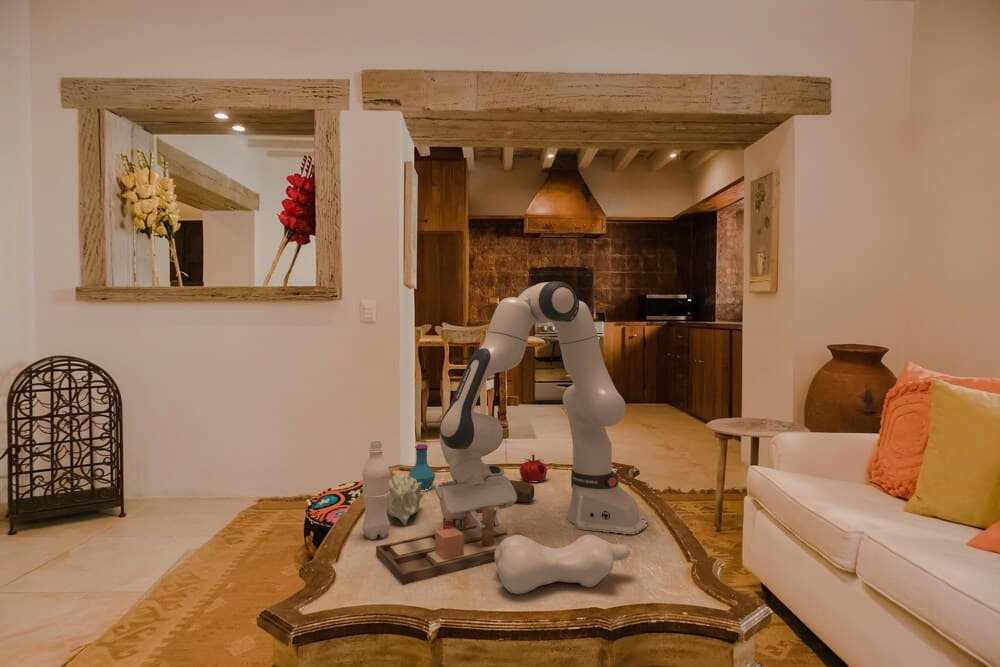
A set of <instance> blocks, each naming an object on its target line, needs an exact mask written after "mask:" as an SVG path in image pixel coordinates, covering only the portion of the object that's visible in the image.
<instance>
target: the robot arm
mask: <svg viewBox="0 0 1000 667" xmlns="http://www.w3.org/2000/svg"><path fill="white" fill-rule="evenodd" d="M548 323H551V324H552V325H553V326H554V328H555V330H556V333H557V338H558V342H559V347H560V351H561V356H562V361H563V362H562V363H563V365H564V369H565V371H566V373H567V374H568V376H569V377H570V379H571V381H572V383H573V384H571V385H570V386H568V387H567V388H566V389H565V391H564V392H563V395H562V403H563V406H564V408H565V411H566V413H567V419H568V423H569V428H570V432H571V439H572V469H571V474H570V475H571V476H570V483H571V484H570V486H571V489H572V490H571V496H570V497H571V499H570V503H569V508H568V512H567V516H566V519H567V520H568V521H569V522H570V523H571V524H573V525H575V527H576V528H577V529H579V530H585V531H593V532H600V531H603V533H609V532H614V533H613V534H617V533H625V534H624V535H626V534H633V533H637V532H639V531H641V530H642V529H643V528H644V527H645V525H646V523H647V524H648V519H647V518H646V516H643V515H640V512H639V506H638V502H637V500H636V499H635V497H633V496H632V495H630V493H628V492H627V491H626V490H624V489H623V488H622V487H621V486H620V485H619V479H620V473H618V474H616V472H614V471H613V466H612V464H613V463H612V462H613V461H612V460H613V459H612V458H613V457H612V456H613V454H612V452H613V450H612V449H613V448H612V447H613V446H612V441H611V440H610V438H609V436H608V432H607V430H606V427H614V426H617V425H618V424H619V423H621V421H622V420H623V419H624V417H625V415H626V410H627V409H626V408H627V407H626V406H627V404H626V401H625V399H624V397H623V396H622V395H621V394H620V392H619V391H618V390H617V388H616V387H615V385H614V382H613V380H612V378H611V376H610V374H609V371H608V369H607V367H606V364H605V361H604V358H603V353H602V350H601V346H600V341H599V337H598V331H597V329H596V324H595V321H594V318H593V316H592V314H591V311H590V307H589V306H588V305H587V304H586V303H585V302H584V301H581V300H579V299H578V298H577V293H576V292H575V291H574V289H573V288H572V287H571V286H570V285H569V284H568V283H565V282H563V281H558V280H557V281H556V280H553V281H548V282H547V281H546V282H540V283H537V284H535V285H531V286H527V287H525V288H523V289H522V290H521V291H520V292H519V293H518V294H517V295H516V297H513V296H510V297H506V298H505V297H504V298H503V299H502V300H500V301H499V302H498V304H497V307H496V308H495V311H494V313H493V315H492V317H491V320H490V323H489V327H488V330H487V333H486V336H485V339H484V341H483V343H482V344H481V346H480V348H479V349H477V350H476V351H474V353H473V354H472V355H471V357H470V359H469V361H468V362H467V365H466V367H465V369H464V371H463V373H462V376H461V379H460V381H459V383H458V385H457V388H456V391H455V393H454V396H453V398H452V400H451V402H450V404H449V406H448V408H447V410H446V411H445V413H444V415H443V416H442V418H441V420H440V423H439V443H440V448H441V451H442V453H443V454H442V455H443V457H444V460H445V462H446V463H447V464H448V467H449V472H450V478H451V477H452V479H453V481H449V482H447V481H446V482H440V483H439V484H438V485H437V486H436V487H435V493H436V497H437V498H438V499H439V505H440V510H441V514H442V518H445V519H447V520H450V519H455V518H460V517H464V516H468V518H469V520H470V523H472V524H473V525H476V527H477V530H478V531H480V530H484V528H485V524H484V521H483V520H482V519H481V520H480V519H479V518H478V516H477V515H479V514H482V508H483V507H485V506H491V507H493V508H494V528H497V527H500V525H501V521H500V518H499V517H500V515H499V514H500V510H503V509H508V508H512V507H513V506H514V505H515V504H516V503H517V502H516V500H517V495H516V492H515V490H514V488H513V486H512V484H511V482H510V480H511V479H509V477H507V476H506V475H504V474H505V470H504V468H503V467H502V466H499V465H493V464H489V463H486V462H485V463H484V462H483V460H482V458H483V457H485V456H488V455H490V454H491V453H493V452H494V451H495V450H498V448H499V447H500V445H502V442H503V440H504V435H505V434H504V426H503V424H502V422H501V421H500V419H499V418H497V417H495V416H492V415H488V414H485V413H479V412H475V407H476V404H477V401H478V399H479V397H480V394H481V392H482V389H483V386H484V384H485V382H486V381H487V380H488V379H489V378H490V377H491V376H492V375H495V374H497V373H500V372H501V373H502V372H506V371H507V372H508V371H509V370H512V369H514V368H515V367H517V366H518V365H520V363H521V362H522V359H523V357H524V355H525V352H526V348H527V345H528V340H529V336H530V332H531V330H532V328H533V326H534V325H535V324H548ZM643 520H644V521H643Z"/></svg>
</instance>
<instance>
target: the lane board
mask: <svg viewBox="0 0 1000 667" xmlns="http://www.w3.org/2000/svg"><path fill="white" fill-rule="evenodd" d="M473 528H477V527H476V525H475V524H473V525H471V526H469V525H468V526H467V527H465V528H460V529H457V530H459V531H464V530H468V529H473ZM504 535H508V532H506V531H505V532H498V531H497V530H495V529H494V538H495V537H499V536H504ZM427 538H433V539H434V540H435V533H433V534H428V535H424V536H417V537H414V538H409V539H405V540H404V539H403V540H399V541H395V542H391V543H386V544H380V545H376V546H375V551H376V552H375V555H376V557H377V558H378V559H379V560H380V561H381V562H382V564H384V565H385V567H386V568H387V569H388V570H389V571H390V573H392V574H393V575H394V576H395V578H396V579H397V580H398V581H399V582H400V583H401V584H402V585H407V584H411V583H415V582H420V581H424V580H427V579H432V578H435V577H439V576H443V575H447V574H452V573H454V572H458V571H463V570H466V569H471V568H474V567H478V566H481V565H486V564H491V563H493V562H495V559H494V555H495V551H496V550H493V551H489V552H485V553H481V554H477V555H473V556H469V557H465V558H461V559H456V560H452V561H448V562H444V563H440V564H436V565H433V564H432V563H431V562H430V561H429V560H428V559H427V553H430V552H434V551H435V548H434V549H429V550H425V551H421V552H416V553H412V554H407V555H403V556H399V557H395V556H394V555H393V554H392V553H391V552H390V546H394V545H399V544H403V543H408V542H413V541H417V540H422V539H427ZM478 541H482V538H478V539H473V540H469V541H465V542H464V545H465V544H469V543H473V542H478Z"/></svg>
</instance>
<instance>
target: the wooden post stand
mask: <svg viewBox="0 0 1000 667" xmlns="http://www.w3.org/2000/svg"><path fill="white" fill-rule="evenodd" d="M481 516H482V518H481V521H482V520H483V521H484V524H485V528H484V530H482V541H478V542H473V543H469V544H465V545H464V555H463V556H459V557H454V558H450V559H446V560H444V559H443V558H441V557H440V556H439V555H438V554H437V553H435V551H434V552H430V553H427V559H428V560H429V561H430V562H431V563H432V564H433V565H436V564H440V563H444V562H448V561H452V560H456V559H461V558H465V557H469V556H473V555H477V554H481V553H485V552H489V551H493V550H496V548H497V547H498V545H499V544H500V543H501V542H502V541H503V540H504V539H506V538H508V537H510V536H513V535H521V536H524V537H527V538H529V539H531V538H530V537H528V536H526V535H525V534H524V533H521V532H520V531H518V532H513V533H509V534H508V535H504V536H499V537H495V538H494V530H495V529H494V528H495V527H494V508H493V507H491V506H485V507H483V508H482V513H481Z"/></svg>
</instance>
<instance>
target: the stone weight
mask: <svg viewBox="0 0 1000 667" xmlns="http://www.w3.org/2000/svg"><path fill="white" fill-rule="evenodd" d="M509 480H510V482H511V484H512V486H513V488H514V490H515V492H516V495H517V500H516V502H515V503H530V502H532V501H533V499H534V497H535V485H533V484H532V483H531V482H527V481H519V480H513V479H509Z"/></svg>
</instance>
